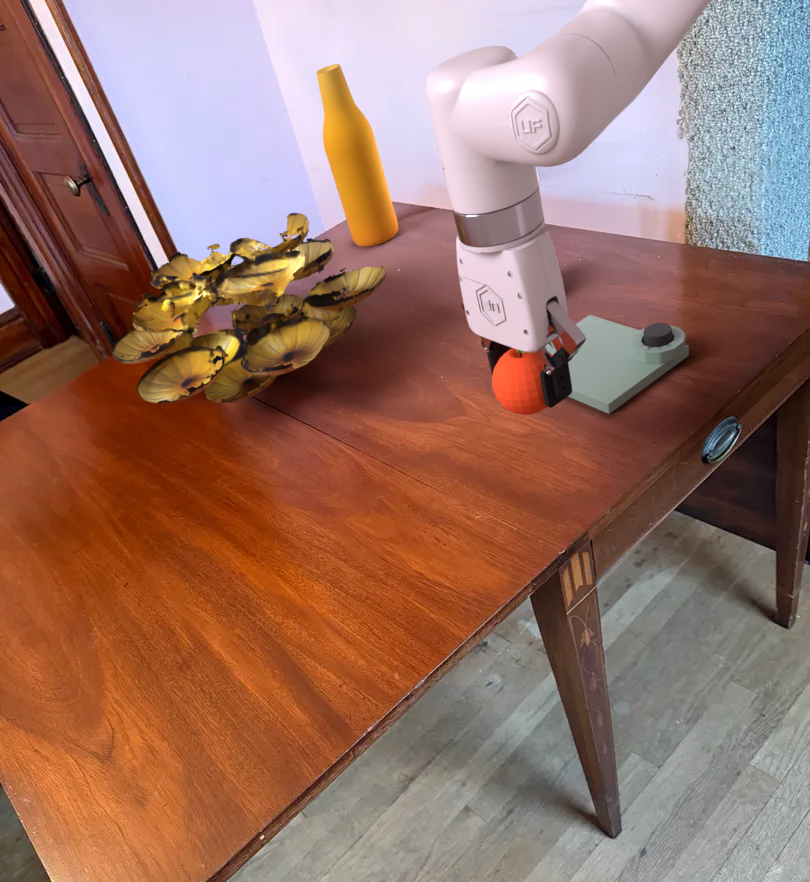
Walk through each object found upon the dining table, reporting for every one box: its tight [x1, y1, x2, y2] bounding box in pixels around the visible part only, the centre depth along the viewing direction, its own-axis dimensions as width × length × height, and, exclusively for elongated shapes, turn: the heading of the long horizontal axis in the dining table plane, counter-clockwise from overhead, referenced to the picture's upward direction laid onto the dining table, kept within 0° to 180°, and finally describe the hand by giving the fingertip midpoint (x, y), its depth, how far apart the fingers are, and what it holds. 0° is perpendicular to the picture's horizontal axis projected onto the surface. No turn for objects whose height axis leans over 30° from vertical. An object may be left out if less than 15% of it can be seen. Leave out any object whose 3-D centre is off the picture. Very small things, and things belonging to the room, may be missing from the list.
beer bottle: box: [315, 63, 399, 248], centre depth 135 cm, size 9×9×29 cm
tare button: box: [643, 322, 672, 347], centre depth 89 cm, size 3×3×2 cm
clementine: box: [491, 343, 554, 416], centre depth 75 cm, size 8×7×7 cm
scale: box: [545, 314, 690, 415], centre depth 93 cm, size 16×15×3 cm
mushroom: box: [110, 212, 388, 404], centre depth 111 cm, size 41×45×17 cm
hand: (532, 387), depth 76 cm, fingers closed on clementine, 7 cm apart
